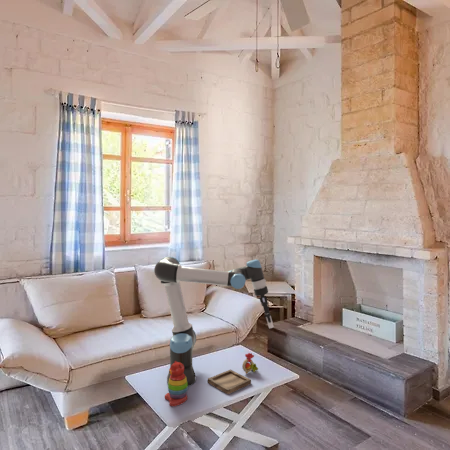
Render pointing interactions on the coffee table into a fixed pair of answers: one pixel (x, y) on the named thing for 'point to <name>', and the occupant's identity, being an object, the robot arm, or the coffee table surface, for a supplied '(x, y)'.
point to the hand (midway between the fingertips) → (270, 324)
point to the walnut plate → (229, 381)
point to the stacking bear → (177, 385)
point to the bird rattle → (249, 364)
